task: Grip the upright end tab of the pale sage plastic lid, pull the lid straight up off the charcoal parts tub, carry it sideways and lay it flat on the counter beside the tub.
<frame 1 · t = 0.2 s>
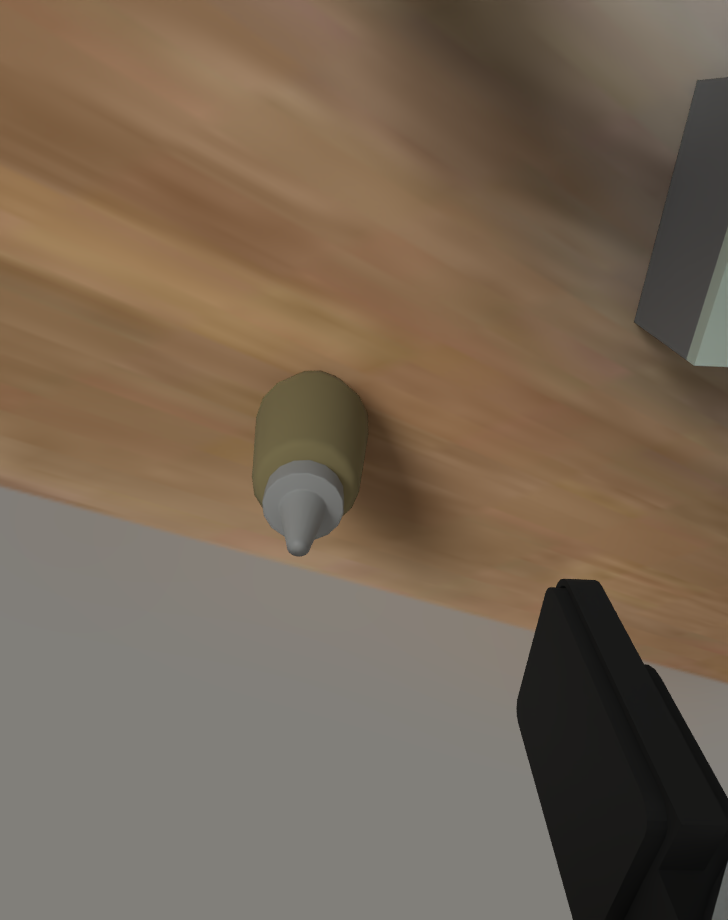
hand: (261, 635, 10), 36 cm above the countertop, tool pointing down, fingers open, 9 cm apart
squeeze bottle: (315, 404, 48), on the countertop
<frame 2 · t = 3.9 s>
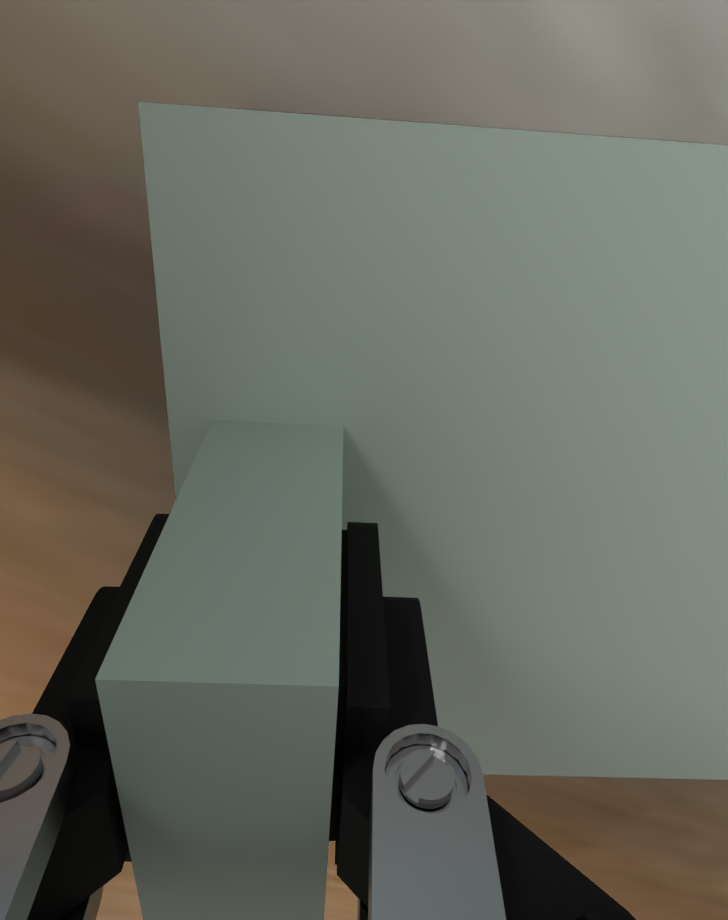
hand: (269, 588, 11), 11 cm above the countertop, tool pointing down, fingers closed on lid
lid: (674, 510, 15), point 7 cm above the countertop, touching gripper, tub
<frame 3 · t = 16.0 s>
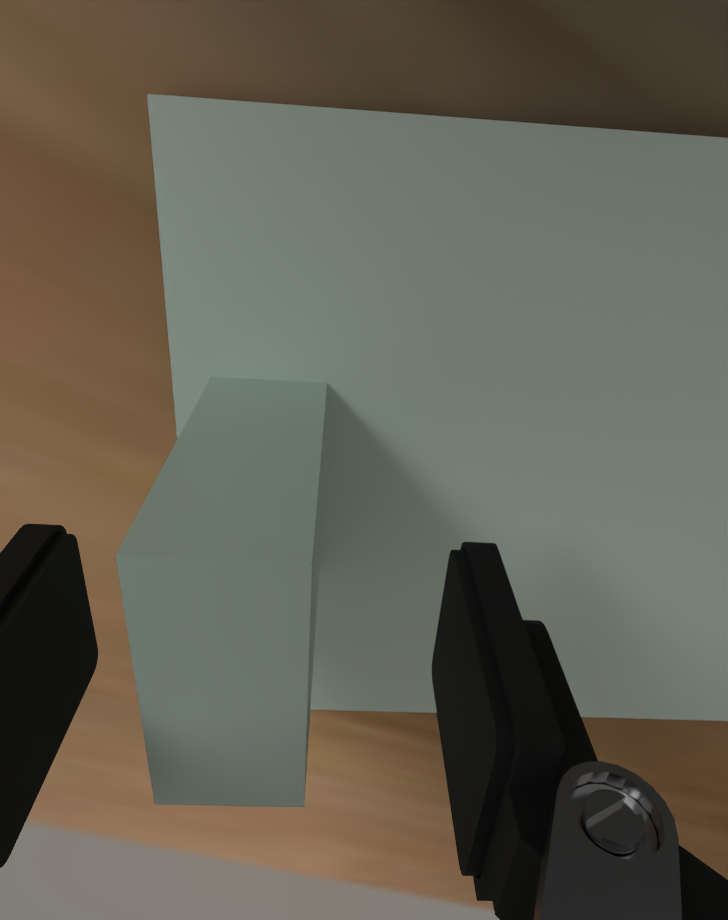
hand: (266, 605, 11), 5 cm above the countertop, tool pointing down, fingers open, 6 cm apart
lid: (629, 466, 16), on the countertop
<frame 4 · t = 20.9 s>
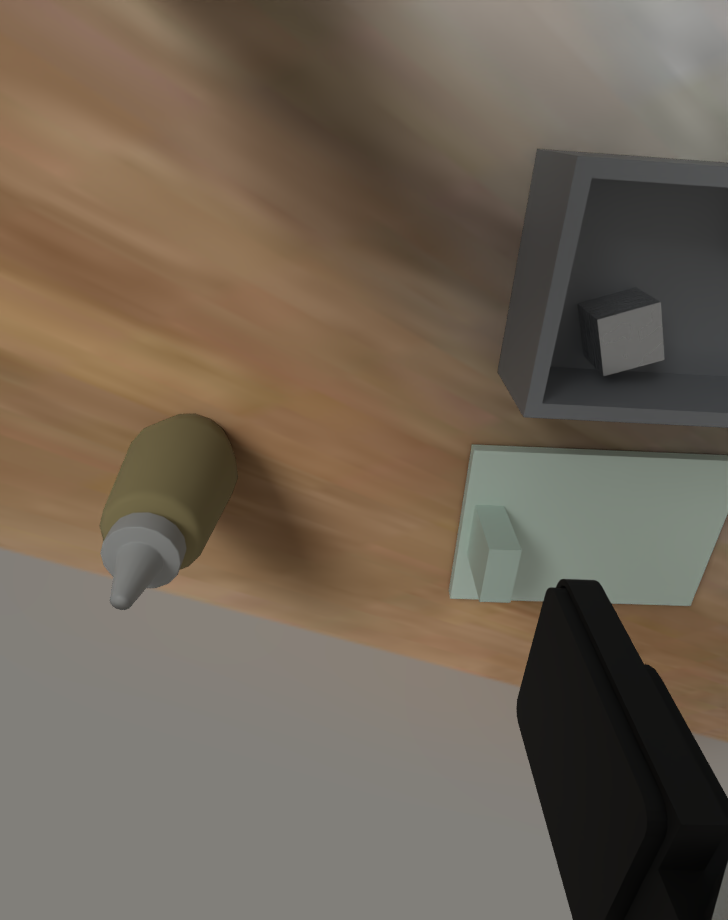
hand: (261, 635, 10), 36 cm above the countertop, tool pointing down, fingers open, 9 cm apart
squeeze bottle: (194, 444, 49), on the countertop
steel block B: (609, 322, 44), point 1 cm above the countertop, touching tub
lid: (584, 523, 54), on the countertop
tub: (670, 279, 44), on the countertop
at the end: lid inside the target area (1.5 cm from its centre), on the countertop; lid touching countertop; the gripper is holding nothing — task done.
